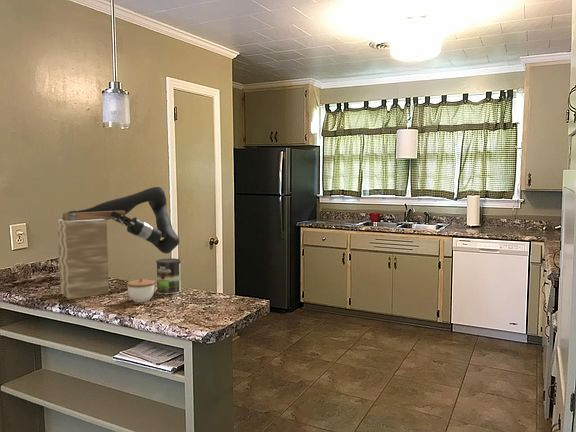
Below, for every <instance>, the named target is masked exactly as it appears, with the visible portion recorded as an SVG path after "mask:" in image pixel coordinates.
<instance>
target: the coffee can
mask: <svg viewBox="0 0 576 432" xmlns="http://www.w3.org/2000/svg"><path fill="white" fill-rule="evenodd" d="M155 262H156V288H157V289H156V291H157V294H158V295H161V294H165V295H164V296H168V295H167V294H173V295H176V294H175V293H178V294H180V293H181V292H182V289H181V288H182V281H181V280H182V278H181V277H182V276H181V275H182V274H181V270H182V269H181V264H182V263H181V262H182V260H181V259H180V258H161V259H158V260H156V261H155ZM179 292H180V293H179Z"/></svg>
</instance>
